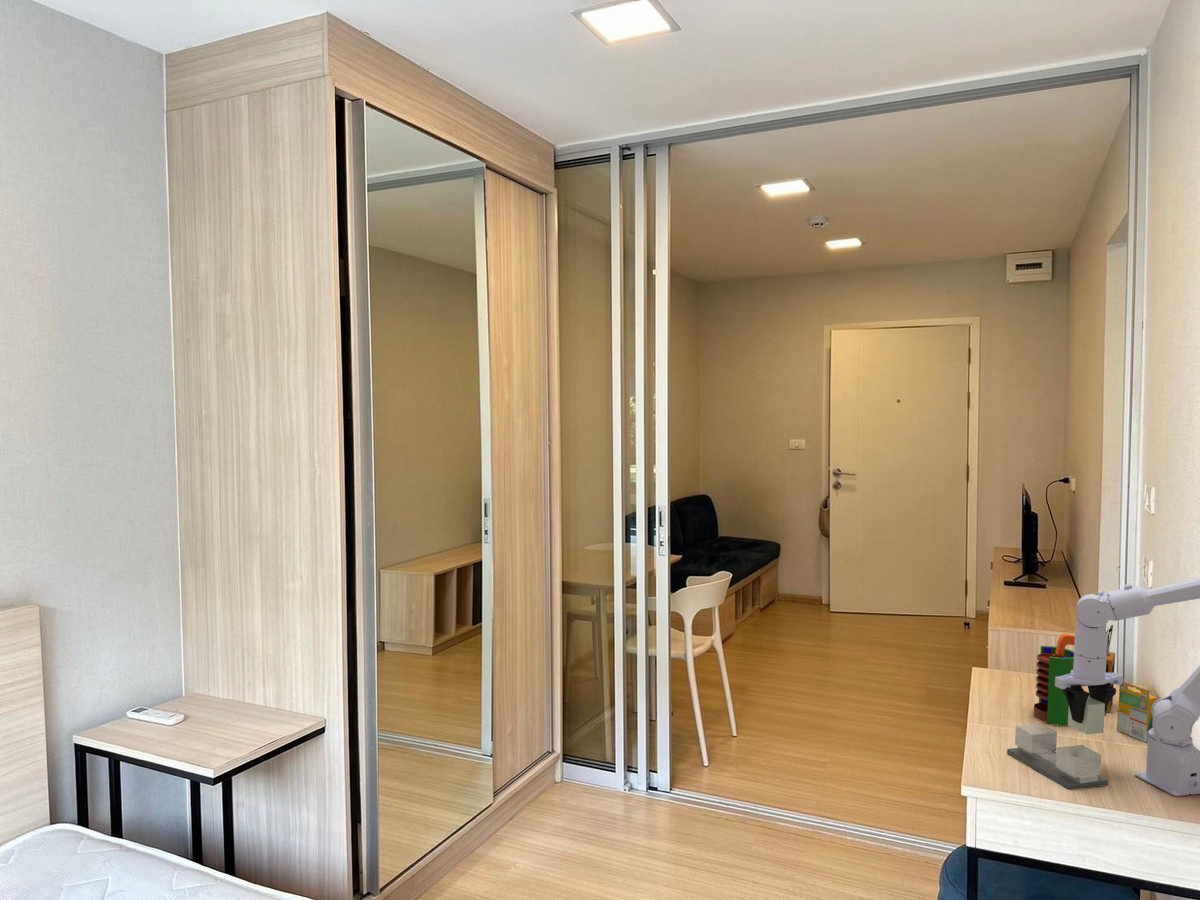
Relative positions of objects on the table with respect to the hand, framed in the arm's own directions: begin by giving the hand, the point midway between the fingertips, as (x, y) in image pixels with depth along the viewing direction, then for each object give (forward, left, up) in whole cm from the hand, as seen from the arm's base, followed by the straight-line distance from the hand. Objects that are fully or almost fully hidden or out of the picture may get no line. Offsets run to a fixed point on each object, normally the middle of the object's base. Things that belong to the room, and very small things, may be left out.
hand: (1086, 720), depth 175 cm
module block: (0, 0, -2) cm, 2 cm away
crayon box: (+11, -24, -10) cm, 28 cm away
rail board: (0, +7, -9) cm, 12 cm away
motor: (+24, -14, -10) cm, 29 cm away
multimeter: (+30, -29, -10) cm, 43 cm away
